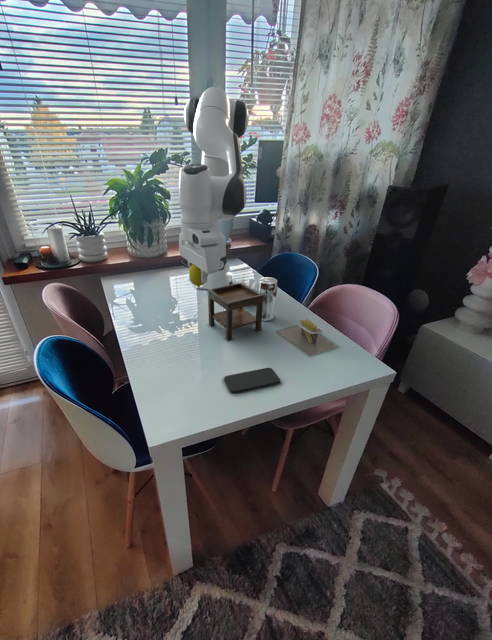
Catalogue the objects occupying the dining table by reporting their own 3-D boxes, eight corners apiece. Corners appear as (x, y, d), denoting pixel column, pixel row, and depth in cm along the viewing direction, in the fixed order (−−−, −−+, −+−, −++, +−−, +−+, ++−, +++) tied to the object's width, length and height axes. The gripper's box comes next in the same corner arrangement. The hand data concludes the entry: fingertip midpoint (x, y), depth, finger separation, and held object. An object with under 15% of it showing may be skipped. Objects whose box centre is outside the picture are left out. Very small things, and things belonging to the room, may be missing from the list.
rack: (208, 324, 122) (207, 289, 114) (240, 316, 128) (241, 282, 120) (228, 340, 112) (228, 303, 104) (261, 330, 118) (263, 294, 110)
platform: (309, 356, 104) (312, 338, 100) (277, 331, 117) (279, 315, 113) (338, 347, 108) (342, 329, 105) (303, 324, 122) (306, 308, 118)
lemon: (199, 282, 104) (198, 257, 100) (211, 287, 101) (210, 261, 96) (186, 286, 101) (184, 261, 96) (197, 292, 98) (196, 265, 93)
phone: (223, 376, 94) (270, 366, 97) (223, 378, 94) (270, 369, 98) (231, 391, 88) (281, 381, 91) (231, 394, 88) (281, 383, 92)
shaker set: (235, 309, 133) (235, 283, 127) (230, 305, 137) (230, 279, 130) (260, 304, 137) (262, 278, 131) (255, 300, 141) (257, 275, 134)
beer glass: (273, 322, 123) (277, 284, 115) (255, 320, 125) (257, 283, 116) (275, 314, 129) (278, 277, 121) (257, 312, 130) (259, 276, 122)
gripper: (172, 225, 98) (175, 270, 106) (202, 241, 83) (204, 292, 91) (191, 223, 100) (193, 267, 108) (224, 238, 86) (223, 287, 94)
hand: (198, 278), depth 99 cm, fingers closed on lemon, 5 cm apart
